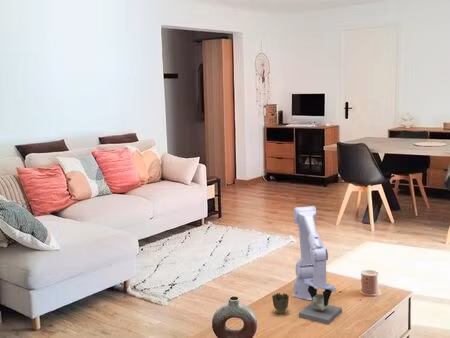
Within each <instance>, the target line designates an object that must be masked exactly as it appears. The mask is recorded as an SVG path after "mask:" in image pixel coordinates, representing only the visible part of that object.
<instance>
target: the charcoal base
mask: <svg viewBox="0 0 450 338" xmlns="http://www.w3.org/2000/svg"><path fill="white" fill-rule="evenodd" d="M342 309H343V308H342V307H339V306H335V305H331V304H328V307H327V308H326V309H325V310H319V309H315V308H313V301H312V302H311V303H309V304H308V305H307V306H306V307H304V308H303V309H302V310H300V311H299V312H298V318H302V319H306V320H309V321H313V322H317V323H322V324H324V325H325V324H326V325H329V324H331V323H332V322H333V321H334V320H335V319H336V318H337V317H339V315H341V313H343V310H342Z"/></svg>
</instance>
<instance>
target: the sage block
mask: <svg viewBox="0 0 450 338" xmlns="http://www.w3.org/2000/svg"><path fill="white" fill-rule="evenodd" d="M312 302H313V308H315V309H319V310H325V309H326V308H327V307H328V305H329V304H328V305H327V306H324V296H323V293H317V294H316V295H315V296H314V297H313V301H312Z"/></svg>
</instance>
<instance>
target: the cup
mask: <svg viewBox="0 0 450 338" xmlns="http://www.w3.org/2000/svg"><path fill="white" fill-rule="evenodd" d="M271 298H272V305H273V308H274V309H275V310H276V313H278V314H279V315H283V314H285V313H286V310H287V309H288V307H289V298H290V296H289V294H287V293H283V294H281V293H280V292H277V293H274V294H272V296H271Z"/></svg>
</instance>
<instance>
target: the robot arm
mask: <svg viewBox="0 0 450 338" xmlns="http://www.w3.org/2000/svg"><path fill="white" fill-rule="evenodd" d="M317 215H318V213H317V209H316V207H315V205H311V206H310V205H309V206H297V207H294V208H293V221H294V224H295V225H297V227H298V235H299V249H300V258H299V260H298V261H296V262H295V276H296V277H295V279H294V282H293V284H294V285H293V290H294V295H293V298H297V299H302V300H307V301H312V302H313V297H314V296H315V295H316V294H318V293H317V292H318V290H319V289H320V290H323V291H322V294H323V296H324V306H327V305H329V300H330V297H331V296H332V295H331V294H332V292H333V293H335V292H336V291H337V286H335V285H331V284H329V283H327V261H328V259H329V252H328V249H327V247H326V246H325V245H324V243H323V241H322V238H321V235H320V234H319V233H318V232H317V227H316V223H315V222H316V219H317Z"/></svg>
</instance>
